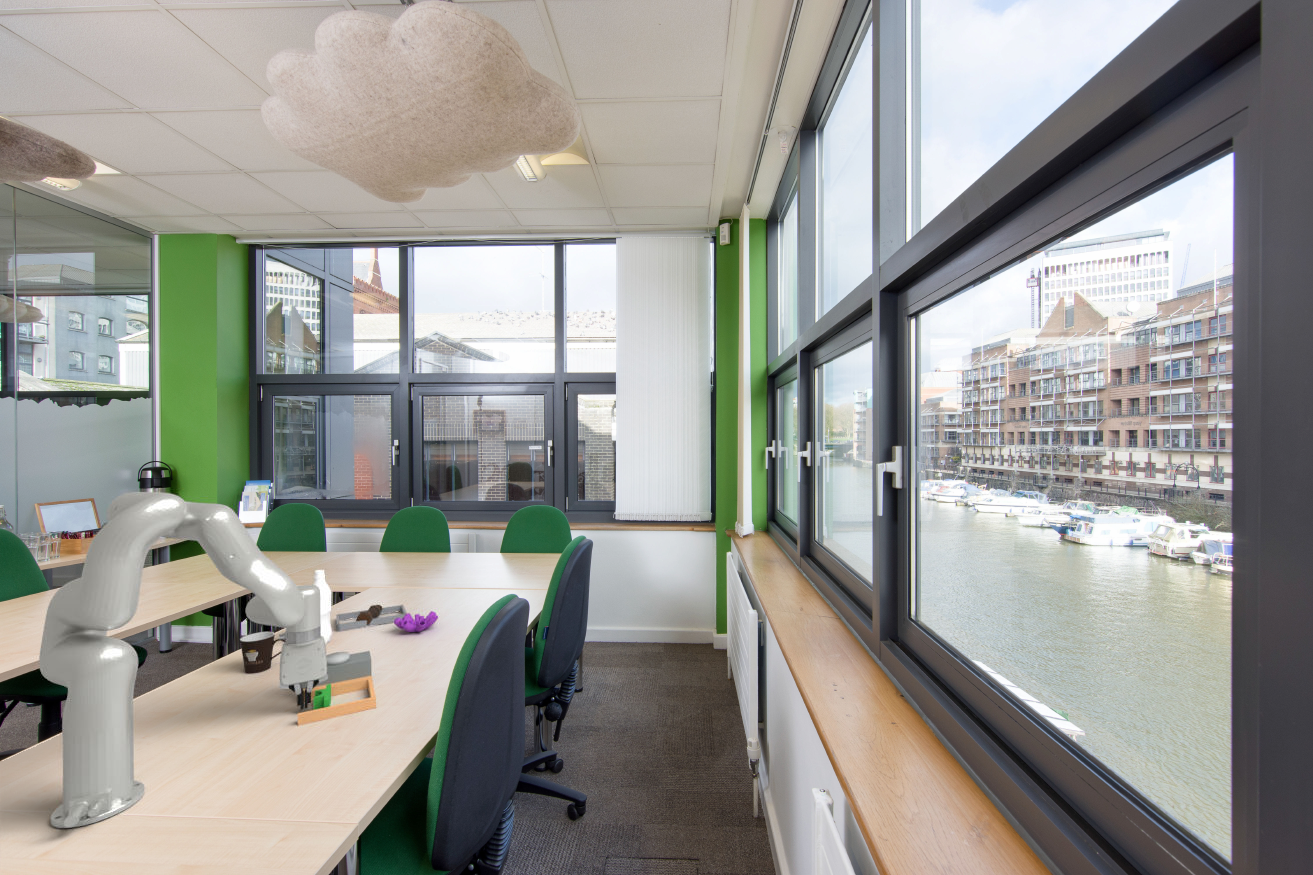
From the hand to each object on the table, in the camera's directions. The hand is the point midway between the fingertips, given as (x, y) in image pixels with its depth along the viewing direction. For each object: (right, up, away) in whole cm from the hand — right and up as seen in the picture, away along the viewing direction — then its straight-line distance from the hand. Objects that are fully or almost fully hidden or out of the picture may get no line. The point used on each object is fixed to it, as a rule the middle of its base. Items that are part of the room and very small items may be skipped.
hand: (304, 706), depth 143 cm
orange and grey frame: (+4, -1, +8) cm, 9 cm away
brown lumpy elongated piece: (-20, -2, +74) cm, 77 cm away
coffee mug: (-30, -2, +27) cm, 41 cm away
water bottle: (-26, -2, +50) cm, 56 cm away
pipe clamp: (+4, -2, +2) cm, 4 cm away
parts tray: (-20, -2, +74) cm, 77 cm away
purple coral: (+3, -2, +61) cm, 61 cm away
